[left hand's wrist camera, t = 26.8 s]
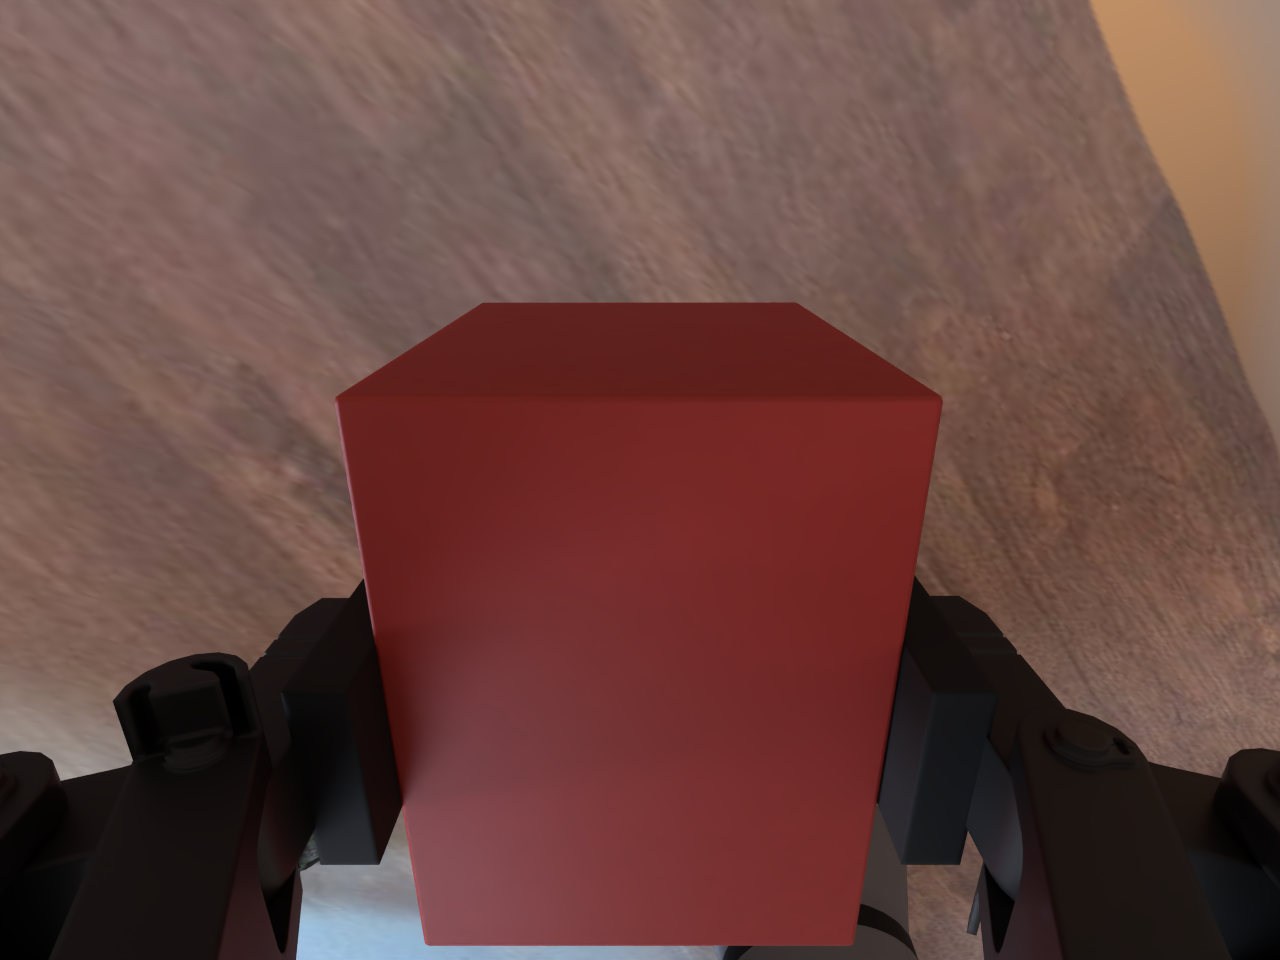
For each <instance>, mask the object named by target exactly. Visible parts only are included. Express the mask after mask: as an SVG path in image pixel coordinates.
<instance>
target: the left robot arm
mask: <svg viewBox="0 0 1280 960" xmlns="http://www.w3.org/2000/svg"><path fill="white" fill-rule="evenodd" d="M113 703H114V706H115V709H116V712H117V715H118V718H119V721H120V724H121V727H122V730H123V732H124V735H125V738H126V741H127V744H128V747H129V750H130V753H131V756H132V759H133V762H132V764H131V765H129V766H126V767H122V768H118V769H113V770H109V771H104V772H99V773H95V774H90V775H86V776H81V777H77V778H72V779H68V780H63V781H60V778H59V776H58V773H57V771H56V768H55V766H54V763H53V761H52V760H51V759H50V758H48V757H47V756H45V755H44V754H42V753H40V752H26V751H18V752H12V753H7V754H1V755H0V960H296V953H297V943H298V933H299V923H300V913H301V903H302V892H303V889H302V883H301V877H300V873H299V869H298V865H297V863H298V861H299V859H300V857H301V855H302V853H303V851H304V849H305V847H306V845H307V844H308V842H309V840H310V838H311V836H312V834H314V838H315V843H316V847H317V851H318V856H319V860H320V864H321V865H379V864H380V862H381V859H382V857H383V854H384V851H385V849H386V846H387V844H388V841H389V839H390V836H391V834H392V831H393V829H394V826H395V823H396V821H397V818H398V816H399V813H400V811H401V808H402V801H401V795H400V789H399V783H398V777H397V771H396V765H395V759H394V753H393V747H392V741H391V735H390V729H389V723H388V717H387V711H386V705H385V699H384V693H383V687H382V681H381V675H380V669H379V663H378V657H377V651H376V645H375V641H374V635H373V629H372V623H371V617H370V611H369V605H368V599H367V593H366V587H365V581H364V579H363V580H362V581H361V583H360V584H359V585H358V587H357V588H356V590H355V591H354V592H353V594H352V595H351V596H350V598H322V599H320V600H318V601H317V602H315V603H314V604H312V605H311V606H309V607H308V608H306V609H304V610H303V611H301V612H300V613H298V614H297V615H295V616H294V617H293V619H292V620H291V621H290V622H289V623H288V625H287V626H286V627H285V628H284V629H283V631H282V632H281V633H280V634H279V635H278V640H274V641H273V643H272V644H271V645H270V646H269V648H268V649H267V650H266V651H265V652H264V657H260V658H259V660H258V661H257V662H256V663H255V664H254V666H253V667H252V668H251V669H250V670H249V669H248V665H247V663H246V662H244V661H243V660H242V659H240V658H239V657H238V656H236V655H230V654H225V653H219V652H218V653H205V654H195V655H191V656H187V657H183V658H180V659H176V660H172V661H169V662H167V663H165V664H162V665H160V666H158V667H156V668H153V669H151V670H149V671H147V672H145V673H143V674H142V675H141V676H139V677H138V678H136V679H135V680H133V681H132V682H130V683H129V684H127V685H126V686H125V687H124V688H123V689H122V691H121V692H120V693H119V694H118V695H117V697H116V698H115V699H114V700H113ZM968 831H969V833H970V835H971V837H972V839H973V841H974V843H975V845H976V847H977V849H978V851H979V852H980V854H981V856H982V858H983V860H984V861H983V865H982V869H981V873H980V877H979V881H978V885H977V889H976V893H975V897H974V901H973V905H972V909H971V913H970V916H969V922H968V928H967V933H969V934H973V935H977V931H978V927H979V923H980V921H981V931H982V941H983V951H984V960H1280V751H1275V750H1269V749H1264V748H1258V749H1244V750H1240V751H1239V752H1237V753H1235V754H1234V755H1232V756H1231V757H1230V758H1229V760H1228V763H1227V765H1226V768H1225V770H1224V773H1223V775H1222V778H1217V777H1213V776H1208V775H1204V774H1199V773H1195V772H1190V771H1185V770H1181V769H1176V768H1172V767H1167V766H1163V765H1159V764H1155V763H1151V762H1148V761H1147V759H1146V757H1145V756H1144V755H1143V753H1142V752H1141V750H1140V749H1139V747H1138V746H1137V745H1136V743H1134V742H1133V741H1132V740H1131V739H1129V738H1128V737H1127V736H1126V735H1124V734H1123V733H1122V732H1121V731H1119V730H1118V729H1117V728H1115V727H1113V726H1111V725H1109V724H1107V723H1105V722H1103V721H1101V720H1099V719H1097V718H1095V717H1093V716H1090V715H1087V714H1083V713H1080V712H1077V711H1074V710H1070V709H1066V708H1065V707H1064V706H1063V705H1062V704H1061V702H1060V701H1059V700H1058V699H1057V698H1056V696H1055V695H1054V694H1053V693H1052V692H1051V690H1050V689H1049V688H1048V687H1047V686H1046V684H1045V683H1044V682H1043V681H1042V680H1041V678H1040V677H1039V676H1038V675H1037V674H1036V673H1035V671H1034V670H1033V669H1032V668H1031V667H1030V665H1029V664H1028V663H1027V662H1026V661H1025V659H1024V658H1023V657H1022V656H1021V655H1017V650H1016V649H1015V647H1014V646H1013V645H1012V644H1011V643H1010V641H1009V640H1008V639H1007V638H1006V637H1003V633H1002V632H1001V631H1000V630H999V628H998V627H997V626H996V625H995V624H994V622H993V621H992V620H991V619H990V618H989V616H988V615H987V614H986V613H985V612H983V611H982V610H980V609H978V608H977V607H975V606H974V605H972V604H971V603H969V602H967V601H966V600H964V599H963V598H961V597H960V596H929V594H928V593H927V592H926V590H925V589H924V587H923V586H922V585H921V583H920V582H919V581H918V579H917V578H916V577H915V575H914V580H913V586H912V592H911V598H910V604H909V610H908V617H907V623H906V629H905V635H904V641H903V647H902V653H901V659H900V665H899V671H898V677H897V683H896V690H895V696H894V702H893V708H892V714H891V720H890V726H889V732H888V738H887V744H886V750H885V756H884V763H883V769H882V775H881V781H880V787H879V793H878V799H877V805H876V811H875V817H874V823H873V829H872V836H871V842H870V848H869V854H868V860H867V866H866V872H865V878H864V884H863V890H862V896H861V902H860V909H859V915H858V921H857V927H856V933H855V939H854V943H853V944H852V945H850V946H714V949H715V951H716V953H717V956H718V958H719V960H918V958H917V955H916V952H915V949H914V947H913V944H912V941H911V938H910V935H909V925H908V896H907V868H906V865H960V862H961V858H962V853H963V849H964V845H965V841H966V836H967V832H968Z"/></svg>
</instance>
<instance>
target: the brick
mask: <svg viewBox="0 0 1280 960" xmlns="http://www.w3.org/2000/svg"><path fill="white" fill-rule="evenodd" d="M942 404H943V401H942V397H941V396H940V395H938V394H937V393H935V392H934V391H932V390H931V389H929V388H928V387H926V386H924V385H923V384H921V383H920V382H918V381H917V380H915V379H914V378H912V377H911V376H909V375H907V374H906V373H904V372H903V371H901V370H900V369H898V368H897V367H895V366H894V365H892V364H890V363H889V362H887V361H886V360H884V359H883V358H881V357H880V356H878V355H877V354H875V353H873V352H872V351H870V350H869V349H867V348H866V347H864V346H863V345H861V344H859V343H858V342H856V341H855V340H853V339H852V338H850V337H849V336H847V335H846V334H844V333H842V332H841V331H839V330H838V329H836V328H835V327H833V326H832V325H830V324H829V323H827V322H825V321H824V320H822V319H821V318H819V317H818V316H816V315H815V314H813V313H812V312H810V311H808V310H807V309H805V308H804V307H802V306H801V305H799V304H797V303H482V304H480V305H478V306H477V307H475V308H474V309H472V310H471V311H469V312H468V313H466V314H464V315H463V316H461V317H460V318H458V319H457V320H455V321H453V322H452V323H450V324H449V325H447V326H446V327H444V328H443V329H441V330H439V331H438V332H436V333H435V334H433V335H432V336H430V337H429V338H427V339H425V340H424V341H422V342H421V343H419V344H418V345H416V346H414V347H413V348H411V349H410V350H408V351H407V352H405V353H404V354H402V355H400V356H399V357H397V358H396V359H394V360H393V361H391V362H389V363H388V364H386V365H385V366H383V367H382V368H380V369H379V370H377V371H375V372H374V373H372V374H371V375H369V376H368V377H366V378H364V379H363V380H361V381H360V382H358V383H357V384H355V385H354V386H352V387H350V388H349V389H347V390H346V391H344V392H343V393H341V394H339V395H338V396H336V399H335V408H336V414H337V420H338V426H339V432H340V438H341V444H342V450H343V456H344V462H345V468H346V474H347V480H348V486H349V492H350V498H351V504H352V510H353V516H354V522H355V528H356V533H357V539H358V545H359V551H360V557H361V563H362V569H363V575H364V581H365V587H366V593H367V599H368V605H369V611H370V617H371V623H372V629H373V635H374V641H375V645H376V651H377V657H378V663H379V669H380V675H381V681H382V687H383V693H384V699H385V705H386V711H387V717H388V723H389V729H390V735H391V741H392V747H393V753H394V759H395V765H396V771H397V777H398V783H399V789H400V795H401V801H402V808H403V814H404V820H405V826H406V832H407V838H408V844H409V850H410V856H411V862H412V868H413V874H414V880H415V886H416V892H417V898H418V904H419V910H420V916H421V922H422V928H423V934H424V940H425V944H427V945H429V946H850V945H852V944H853V943H854V939H855V933H856V927H857V921H858V915H859V909H860V902H861V896H862V890H863V884H864V878H865V872H866V866H867V860H868V854H869V848H870V842H871V836H872V829H873V823H874V817H875V811H876V805H877V799H878V793H879V787H880V781H881V775H882V769H883V763H884V756H885V750H886V744H887V738H888V732H889V726H890V720H891V714H892V708H893V702H894V696H895V690H896V683H897V677H898V671H899V665H900V659H901V653H902V647H903V641H904V635H905V629H906V623H907V617H908V610H909V604H910V598H911V592H912V586H913V580H914V574H915V568H916V562H917V556H918V550H919V544H920V538H921V531H922V525H923V519H924V513H925V507H926V501H927V495H928V489H929V483H930V477H931V471H932V465H933V458H934V452H935V446H936V440H937V434H938V428H939V422H940V416H941V410H942Z"/></svg>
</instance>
